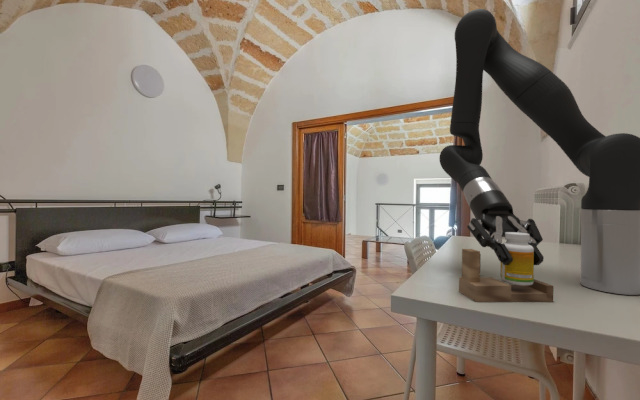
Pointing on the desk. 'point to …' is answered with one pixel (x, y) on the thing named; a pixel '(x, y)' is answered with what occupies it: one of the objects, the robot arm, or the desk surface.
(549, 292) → the wooden stand
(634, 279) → the robot arm
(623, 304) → the desk surface
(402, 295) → the desk surface
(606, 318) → the desk surface
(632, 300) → the desk surface
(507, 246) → the supplement bottle
